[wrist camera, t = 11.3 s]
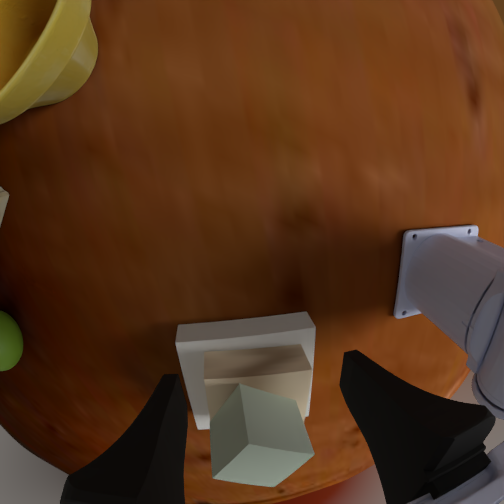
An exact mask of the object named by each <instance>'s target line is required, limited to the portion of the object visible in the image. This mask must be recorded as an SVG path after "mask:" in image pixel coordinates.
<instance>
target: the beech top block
mask: <svg viewBox="0 0 504 504" xmlns="http://www.w3.org/2000/svg"><path fill="white" fill-rule="evenodd" d="M311 375H312V368H311V365H310V363H309V361H308V359H307V357H306V354H305V352H304V350H303V348H302V345H301V344H297V345H287V346H278V347H267V348H255V349H242V350H227V351H208V352H204V383H205V390H206V396H207V403H208V410H209V416H210V421H211V420H212V418H213V417H214V416H215V415H216V413H217V412H218V411H219V409H220V408H221V407H222V406H223V404H224V403H225V402H226V400H227V399H228V398H229V397H230V395H231V394H232V393H233V391H234V390H235V389H236V387H237V386H238V385H239V383H240V384H243V385H246V386H249V387H252V388H255V389H259V390H262V391H265V392H269V393H272V394H275V395H279V396H282V397H286V398H290V399H293V400H296V402H297V405H298V408H299V411H300V414H301V417H302V420H303V423H304V419H305V414H306V408H307V402H308V395H309V389H310V382H311Z"/></svg>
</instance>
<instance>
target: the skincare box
mask: <svg viewBox="0 0 504 504" xmlns="http://www.w3.org/2000/svg"><path fill="white" fill-rule="evenodd" d="M8 198H9V193H8V192H6V191H5V190H4V189H3V188H1V187H0V226H1V222H2V218H3V215H4V211H5V208H6V204H7V201H8Z"/></svg>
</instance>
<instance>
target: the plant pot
mask: <svg viewBox="0 0 504 504" xmlns="http://www.w3.org/2000/svg"><path fill="white" fill-rule="evenodd" d="M90 9H91V0H0V124H2V123H5V122H7V121H9V120H11V119H13V118H15V117H17V116H18V115H20V114H21V113H23V112H24V111H26V110H27V109H30V108H34V107H39V106H44V105H50V104H55V103H58V102H61V101H63V100H65V99H67V98H68V97H70V96H71V95H73V94H74V93H75V92H76V91H78V90H79V89H80V88H81V87H82V85H83V84H84V83H85V82H86V81H87V79H88V78H89V76H90V74H91V72H92V70H93V68H94V66H95V63H96V59H97V55H98V42H97V38H96V35H95V32H94V30H93V27H92V24H91V21H90V17H89V15H90Z"/></svg>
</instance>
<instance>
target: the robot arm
mask: <svg viewBox="0 0 504 504" xmlns="http://www.w3.org/2000/svg"><path fill="white" fill-rule="evenodd" d="M414 234H415V236H414V238H412V237H413V235H414ZM403 311H404V313H403ZM420 313H422V314H424V315H425V316H426V317H427V318H428V319H429V320H430V321H432V322H433V323H434V324H435V325H436V326H437V327H438V328H439V329H441V330H442V331H443V332H444V333H445V334H446V335H447V336H448V337H449V338H451V339H452V340H453V341H454V342H455V343H456V344H457V345H458V346H459V347H460V348H461V349H463V350H464V351H465V352H466V353H467V354H468V360H467V363H466V365H467V366H468V367H469V368H470V369H471V370H472V371H473V372H474V373H475V374H474V376H473V379H472V391H473V394H474V396H475V398H476V400H477V401H478V403H479V404H480V405H476V404H469V403H463V402H458V401H454V400H450V399H446V398H443V397H440V396H437V395H434V394H431V393H429V392H426V391H424V390H422V389H419V388H417V387H415V386H413V385H411V384H409V383H407V382H405V381H404V380H402V379H400V378H398V377H397V376H395V375H393V374H392V373H390V372H389V371H387V370H385V369H384V368H382V367H381V366H379V365H378V364H377V363H375V362H374V361H372V360H371V359H369V358H368V357H367V356H365V355H364V354H362V353H361V352H359V351H358V350H353V351H348V352H344V357H343V364H342V371H341V378H340V388H341V391H342V394H343V397H344V399H345V402H346V404H347V406H348V408H349V410H350V412H351V414H352V416H353V417H354V419H355V421H356V423H357V425H358V427H359V428H360V430H361V432H362V434H363V436H364V438H365V440H366V442H367V444H368V446H369V449H370V451H371V454H372V457H373V459H374V462H375V465H376V468H377V471H378V474H379V477H380V480H381V484H382V487H383V491H384V495H385V499H386V503H387V504H499V503H500V502H501V501H502V500H503V499H504V441H503V442H502V443H501V444H499V445H498V446H496V447H495V448H494V449H492V450H491V451H490V452H489V453H488V454H487V455H486V454H485V452H484V450H485V449H486V446H485V445H484V444H483V441H484V440H485V438H486V437H487V436H488V434H489V433H490V431H491V430H492V428H493V426H494V423H495V417H497V418H499V419H503V420H504V248H502V247H500V246H498V245H496V244H493V243H491V242H489V241H487V240H484V239H482V238H480V237H478V227H477V226H476V225H465V226H453V227H440V228H428V229H416V230H407V231H406V232H405V233H404V235H403V244H402V254H401V264H400V272H399V280H398V288H397V295H396V301H395V308H394V317H395V318H397V319H400V318H404V317H408V316H412V315H416V314H420ZM187 427H188V417H187V403H186V400H185V397H184V393H183V390H182V386H181V383H180V379H179V375H178V374H164V375H163V376H162V378H161V380H160V382H159V384H158V385H157V387H156V389H155V390H154V392H153V394H152V395H151V397H150V399H149V400H148V402H147V403H146V405H145V406H144V408H143V409H142V411H141V412H140V414H139V415H138V416H137V418H136V419H135V420H134V422H133V423H132V424H131V425H130V427H129V428H128V429H127V430H126V431H125V432H124V434H123V435H122V436H121V437H120V438H119V439H118V440H117V441H116V442H115V443H114V444H113V445H112V446H111V447H110V448H108V449H107V450H106V451H105V452H104V453H103V454H101V455H100V456H99V457H97V458H96V459H95V460H93V461H92V462H91V463H89V464H88V465H86V466H85V467H83V468H81V469H80V470H78V471H76V472H74V473H73V474H71V475H69V476H68V477H67V480H66V482H65V485H64V489H63V492H62V496H61V500H60V504H185V497H184V477H183V473H184V458H185V448H186V438H187Z"/></svg>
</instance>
